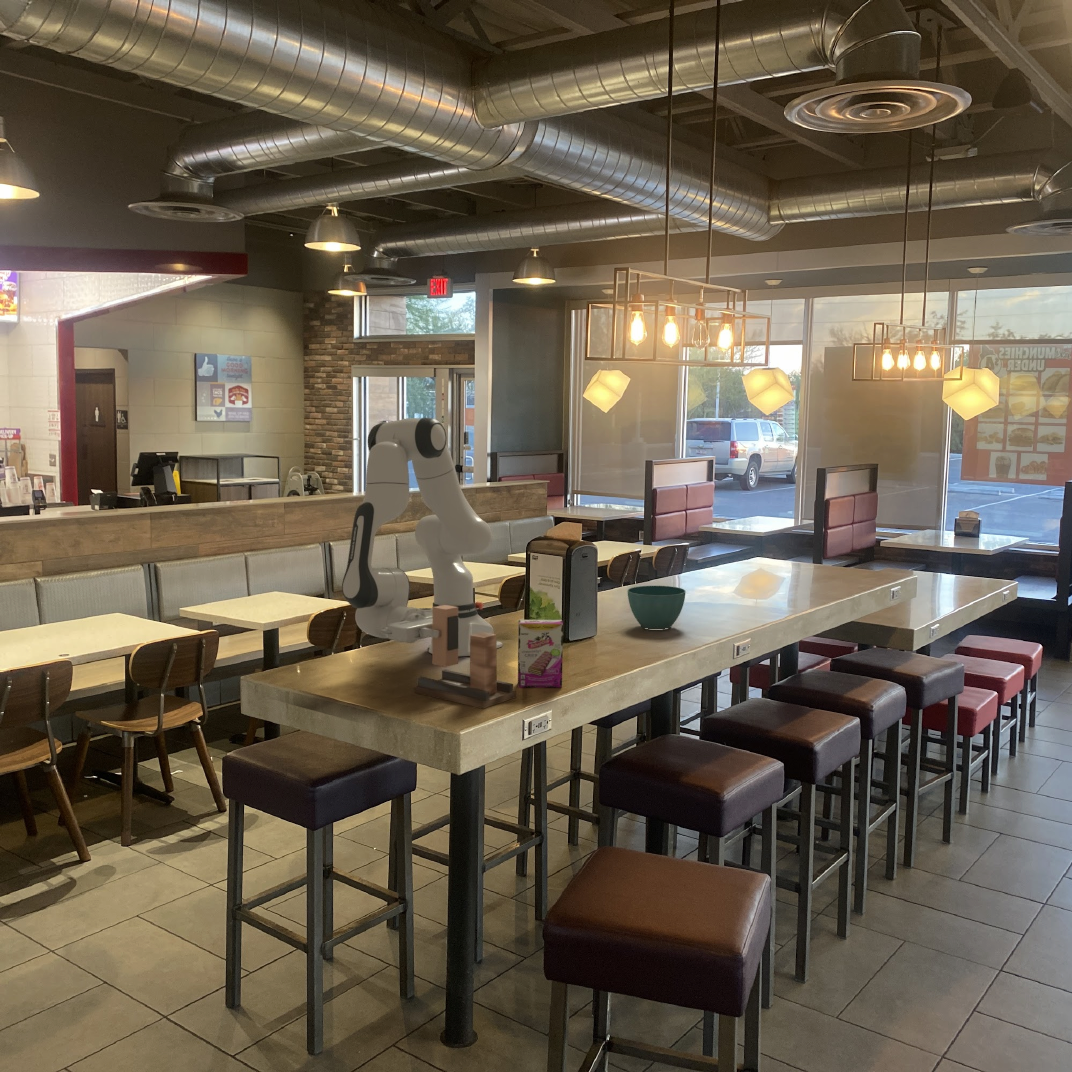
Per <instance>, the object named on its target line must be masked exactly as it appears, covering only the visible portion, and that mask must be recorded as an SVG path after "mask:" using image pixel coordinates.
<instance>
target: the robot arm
mask: <svg viewBox="0 0 1072 1072" xmlns="http://www.w3.org/2000/svg"><path fill="white" fill-rule="evenodd" d="M367 448H368V451H369V454H368V458H367V462H366V463H367V464H366V465H367V466H366V472H365V473H366V474H365V490H364V491H365V493H364V497H363V501H362V503H361V504H360V505H359V506H358V507H357V508H356V511H355V514H354V517H353V524H352V529H351V534H350V535H351V537H350V544H349V551H348V558H347V563H346V564H347V565H346V570H345V573H344V575H343V578H342V583H341V591H342V595H343V597H344V599H345V601H346V602H347V603H348V604H349V605H350V606H351V607H353V608H355V609H356V610H355V616H354V618H355V619H354V620H355V622H356V625H357V626H358V628H359V629H360V630H361V631H362V632H364V633H365V634H367V635H370V636H373V637H377V638H380V639H389V640H391V641H395V642H399V643H407V644H413V643H416V642H417V641H418V640H422V639H423V640H424V639H428V638H430V643H428V653H430V654H431V655H432V637H434V638H438V637H441V636H442V634H441V633H442V631H441V630H439V629H432V608H431V607H429V608H428V607H425V608H424V607H423V608H418V607H413V606H408V605H409V604H408V603H409V600H410V593H411V584H410V580H409V577H408V574H406V572H405V571H404V570H402V568H399V567H372V558H373V551H374V543H375V536H376V534H377V532H378V530H379V529H380V528H381V527H382V526H384V525H385V524H387V523H389V522H391V521H394V520H395V519H397V518H398V517H400V516H401V515H402V514H403V513H404V512H405V511H406V509H407V508H408V504H409V501H410V471H409V464H408V463H409V462H411V461H412V462H411V463H412V469H413V472H414V477H415V479H416V483H417V486H418V490H419V493H420V496H421V500H422V502H423V504H424V505H425V506H426V507H427V508H428V509H429V510H430V511H431V512H433V513H434V514H431V515H426V516H423V517H421V518H420V519H419V520H418V521H417V523H416V525H415V530H414V535H415V536H414V537H415V541H416V542H417V544H418V545H419V547H421V549H422V550H423V552H424V553H425V555H426V557H427V560H428V562H429V565H430V568H431V573H432V579H433V580H432V581H433V603H432V607H437V606H442V605H449V606H455V607H458V657H470V635H473V634H477V633H481V632H484V633H490V634H495V632H494V628H493V626H492V624H490V623H489V622H488V621H486V620H485V618H482V617H481V616H480V615H479V614H478V611H477V610H483V608H484V603H483V602H478V601H476V602H474V578H473V574H472V573H471V571H470V569H468V567H466V565H465V564H464V562H463V559H462V556H463V557H474V556H480V555H483V554H485V553H487V551H488V550H489V549H490V546H491V545H492V541H493V532H492V529H491V526H490V525H489V524H488V522H486V521H485V520H483V519H482V518H481V517H480V516H479V515H478V514H477V513H476V512H475V510H474V509H473V508H472V506H471V504H470V503H469V501H468V500H467V498H466V496H465V494H464V492H463V491H462V487H461V484H460V481H459V477H458V474H457V470H456V468H455V464H454V459H453V458H452V455H451V451H450V450H449V448H448V445H447V432H446V429H445V428H444V426H443V424H442V423H441V422H440V421H439V420H438V419H436V418H432V417H422V418H421V417H420V418H417V417H416V418H415V417H412V418H410V417H409V418H402V419H398V420H393V421H392V420H391V421H389V422H388V421H383V422H380V423H377V424H375V425H374V426H372V428H371V429H370V431H369V432H368V436H367ZM502 647H503V642H501V641H499V640H497V649H499V648H502Z"/></svg>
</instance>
